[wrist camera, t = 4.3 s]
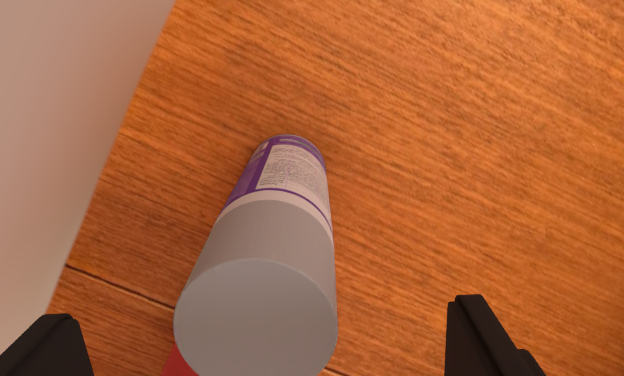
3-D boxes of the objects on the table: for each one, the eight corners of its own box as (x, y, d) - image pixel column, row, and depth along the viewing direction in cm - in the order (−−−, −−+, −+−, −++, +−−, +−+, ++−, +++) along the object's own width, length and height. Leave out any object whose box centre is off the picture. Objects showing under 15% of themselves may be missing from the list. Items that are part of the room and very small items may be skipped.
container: (267, 217, 26) (214, 419, 12) (236, 150, 25) (134, 289, 11) (336, 192, 26) (366, 372, 12) (309, 121, 24) (304, 229, 10)
